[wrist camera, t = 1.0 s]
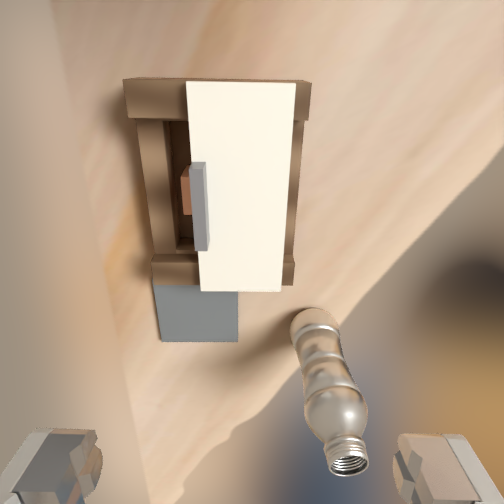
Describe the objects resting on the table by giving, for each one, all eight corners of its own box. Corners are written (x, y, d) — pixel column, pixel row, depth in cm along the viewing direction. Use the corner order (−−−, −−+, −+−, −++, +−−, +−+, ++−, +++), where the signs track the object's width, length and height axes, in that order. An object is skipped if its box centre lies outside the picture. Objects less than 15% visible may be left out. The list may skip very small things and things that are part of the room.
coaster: (153, 275, 44) (152, 278, 43) (237, 275, 44) (237, 279, 43) (163, 338, 49) (161, 341, 48) (237, 338, 49) (237, 342, 49)
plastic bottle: (281, 311, 47) (302, 456, 30) (327, 295, 46) (377, 437, 28) (296, 342, 50) (323, 491, 33) (340, 328, 49) (392, 474, 31)
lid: (187, 80, 28) (180, 82, 25) (294, 82, 28) (300, 85, 25) (201, 286, 38) (198, 304, 35) (279, 286, 39) (282, 304, 36)
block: (187, 165, 37) (180, 177, 33) (223, 165, 37) (221, 177, 33) (189, 199, 39) (183, 214, 35) (224, 199, 39) (222, 215, 35)
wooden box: (138, 77, 32) (122, 79, 28) (302, 80, 33) (311, 83, 29) (163, 262, 43) (153, 284, 38) (288, 263, 43) (292, 285, 39)
